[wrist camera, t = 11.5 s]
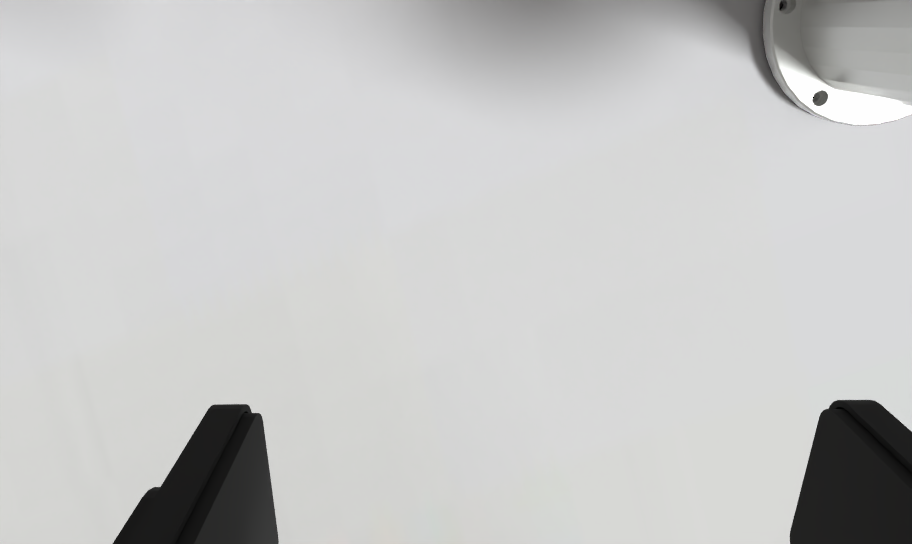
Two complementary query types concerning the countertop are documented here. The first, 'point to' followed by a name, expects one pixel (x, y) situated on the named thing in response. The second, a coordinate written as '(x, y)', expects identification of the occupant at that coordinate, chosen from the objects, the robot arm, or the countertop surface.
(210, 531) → the robot arm
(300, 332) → the countertop surface
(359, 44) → the countertop surface
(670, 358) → the countertop surface
